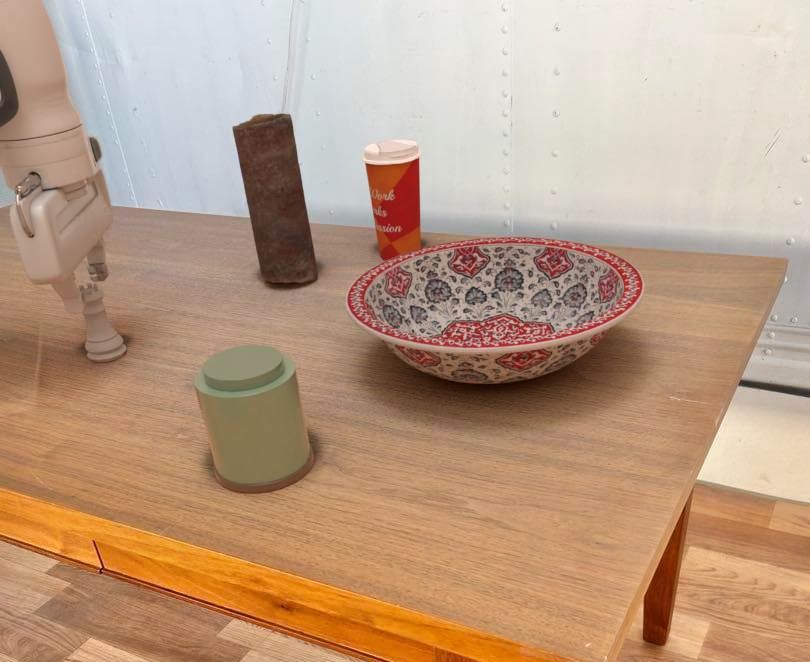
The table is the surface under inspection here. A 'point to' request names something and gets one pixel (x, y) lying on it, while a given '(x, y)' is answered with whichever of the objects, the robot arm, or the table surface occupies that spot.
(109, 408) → the table surface
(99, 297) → the rook chess piece
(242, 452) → the upturned tumbler
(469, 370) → the ceramic bowl
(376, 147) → the paper cup
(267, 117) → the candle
